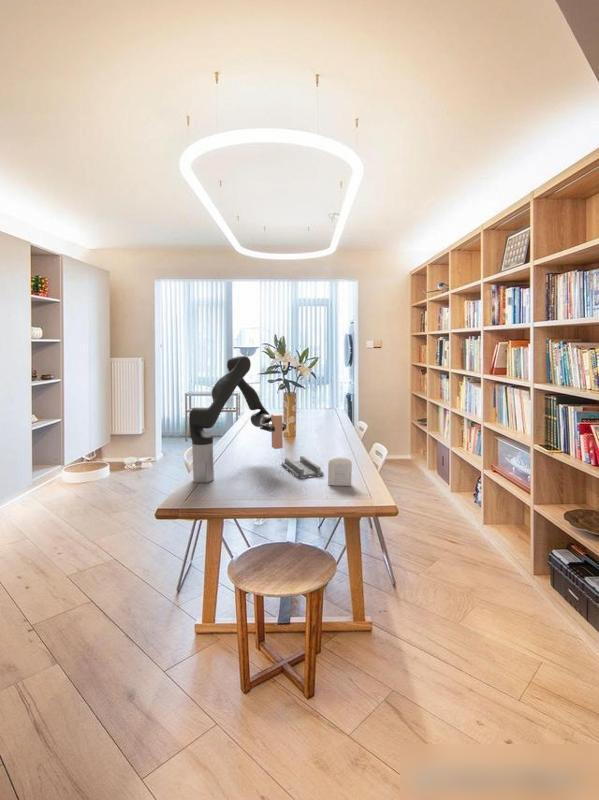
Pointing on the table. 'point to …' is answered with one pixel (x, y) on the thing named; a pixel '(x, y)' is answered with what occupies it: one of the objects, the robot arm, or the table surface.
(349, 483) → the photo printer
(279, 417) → the panel block
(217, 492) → the table surface
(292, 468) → the track
